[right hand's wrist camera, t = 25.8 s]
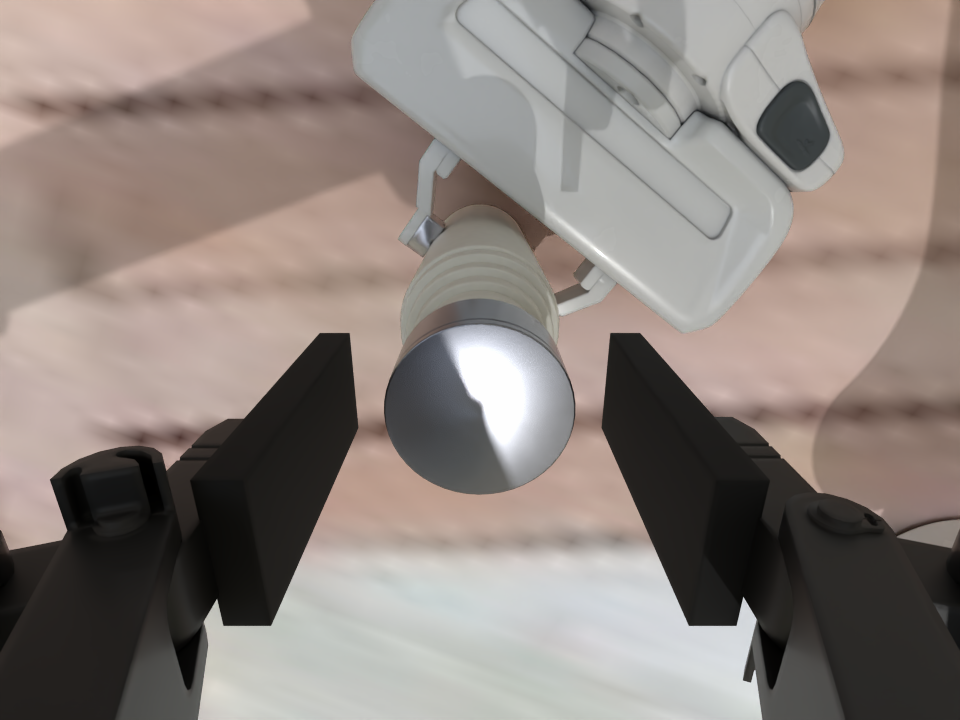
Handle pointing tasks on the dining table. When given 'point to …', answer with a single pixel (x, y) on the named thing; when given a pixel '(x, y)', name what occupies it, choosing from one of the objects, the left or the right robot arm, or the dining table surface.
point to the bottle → (480, 269)
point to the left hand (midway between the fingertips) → (469, 289)
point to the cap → (479, 398)
